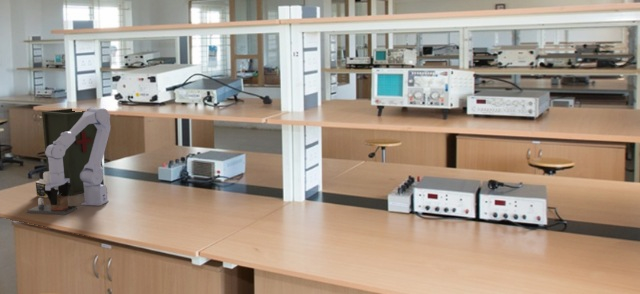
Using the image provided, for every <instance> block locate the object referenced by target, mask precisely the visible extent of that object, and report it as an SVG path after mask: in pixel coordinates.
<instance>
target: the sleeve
mask: <svg viewBox="0 0 640 294" xmlns="http://www.w3.org/2000/svg"><path fill="white" fill-rule="evenodd" d="M68 199H69V198H67V196H61V195H57V205H51V203H50V202H49V205H50V206H51V210H63V209H65V208H68V206H69V202H68Z"/></svg>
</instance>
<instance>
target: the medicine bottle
mask: <svg viewBox="0 0 640 294" xmlns="http://www.w3.org/2000/svg"><path fill="white" fill-rule="evenodd" d="M38 174H39V175H38V176H39V177H38V178H39V180H37V181H35V191H36V196H37V197H39V198H40V197H41V198H48V196H47V194H46V193H45V192H44V189H45V186H46V185H48V182H50V173H49V171H47V170H41V171H39V173H38ZM54 189H55V190H58V193H57V196H60V195H59V194H60V193H59V189H58V187H56V188H54Z"/></svg>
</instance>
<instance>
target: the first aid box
mask: <svg viewBox="0 0 640 294" xmlns="http://www.w3.org/2000/svg"><path fill="white" fill-rule="evenodd" d="M84 112H85V111H82V112H75V111H72V108H66V109H65V108H63V109H62V108H61V109H53V110H44V111H41V115H42V128H43V129H42V130H43V136H44V137H43V140H44V152H45V151H46V148H47V147H48V146H49V145H52V144H53V142H54V141H56V140H57V139H58V138H59V137H60V136H61V135H60V134H61V133H64V132H66V131H70V130H71V128H72V127H73V126H74V125H75V124H76V123H77V122H78V120H79V119H80V118H81V117H82V115H83V113H84ZM96 133H97V128H96V127H95V125H94V124H88V125H87V126H86V127H85V128H84V129H83V130H82V131H81V132H80V133H78V134H77V135H76V136H75V141H74V142H73V143H72V144H71V145H70V146H69V147H68V149H67V150H66V151H65V155H64V156H63V167H64V179H65V178H69V179H70V183H68V184H71V187H70V190H69V193H68V196H78V195H79V194H84V184H83V181H82V180H81V179H80V173H81V172H82V170H83V169H84V166H85V165H86V164H87V163H88V162H89V159H90V155H91V151H92V148H93V144H94V140H95V137H96ZM45 161H46V163H45V164H46V171H49V162H48V157H47V156H46V155H45ZM101 166H102V168H103V169H104V167H103V166H104V165H103V162H102V163H101ZM101 184H102V185H105V184H104V179H103V180H102V182H101ZM58 189H59V187H58ZM59 194H61V193H60V190H59Z"/></svg>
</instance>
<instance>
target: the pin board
mask: <svg viewBox="0 0 640 294" xmlns="http://www.w3.org/2000/svg"><path fill="white" fill-rule="evenodd" d="M37 203H38V205H37V206H34V207H31V208H29V209H27V211H26V212H27V214H41V215H42V214H45V215H46V214H47V215H61V216H62V215H65V216H66V215H68V214H70V213H72V212H75V211H76V210H78V206H77V205H68V208H65V209H63V210H51V206H50V204H44V197H40V196H39V198H37Z"/></svg>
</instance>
